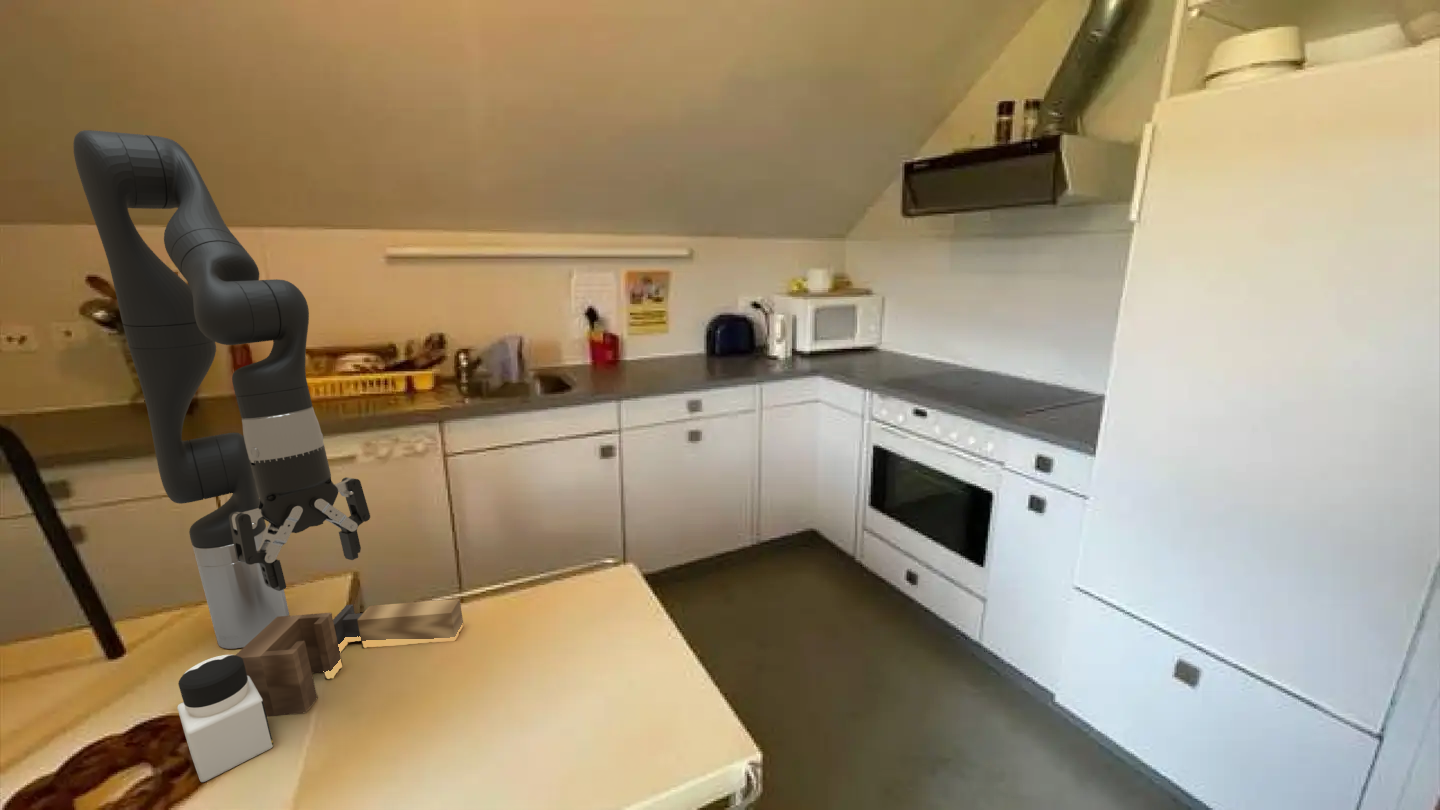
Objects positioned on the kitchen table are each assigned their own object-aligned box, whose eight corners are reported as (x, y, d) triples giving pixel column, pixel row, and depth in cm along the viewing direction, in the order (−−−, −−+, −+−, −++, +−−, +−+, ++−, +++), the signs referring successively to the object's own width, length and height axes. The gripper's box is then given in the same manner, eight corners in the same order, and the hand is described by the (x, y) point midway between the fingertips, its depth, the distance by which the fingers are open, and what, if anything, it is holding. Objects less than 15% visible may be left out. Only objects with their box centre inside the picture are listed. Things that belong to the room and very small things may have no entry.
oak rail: (465, 623, 100) (461, 596, 99) (454, 644, 95) (449, 615, 94) (351, 632, 99) (346, 605, 98) (334, 653, 94) (328, 625, 92)
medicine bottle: (274, 747, 75) (254, 663, 73) (201, 785, 70) (175, 695, 68) (260, 720, 80) (240, 640, 77) (190, 753, 75) (166, 669, 72)
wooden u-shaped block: (342, 666, 90) (331, 612, 88) (305, 712, 81) (292, 653, 79) (289, 670, 90) (277, 616, 88) (246, 717, 81) (231, 658, 79)
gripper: (332, 432, 81) (358, 545, 84) (202, 464, 70) (237, 594, 73) (363, 435, 77) (388, 553, 81) (230, 469, 66) (266, 606, 69)
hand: (317, 573), depth 77 cm, fingers open, 8 cm apart
